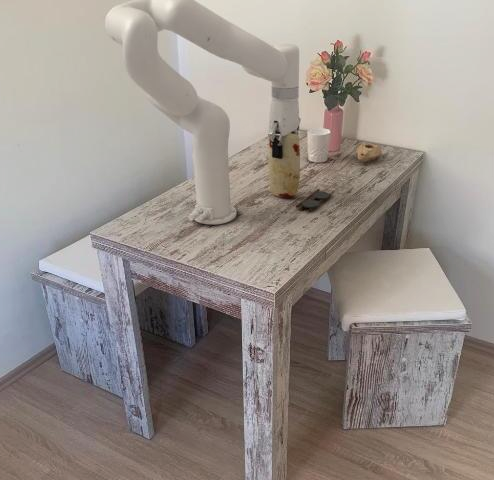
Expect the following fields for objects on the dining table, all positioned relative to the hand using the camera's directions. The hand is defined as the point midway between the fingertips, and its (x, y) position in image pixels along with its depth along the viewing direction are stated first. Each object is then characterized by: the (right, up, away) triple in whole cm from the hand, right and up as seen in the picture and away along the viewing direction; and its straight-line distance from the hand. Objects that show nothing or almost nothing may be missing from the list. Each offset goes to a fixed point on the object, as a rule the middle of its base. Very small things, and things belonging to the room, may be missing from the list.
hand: (284, 153), depth 169 cm
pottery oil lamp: (+29, +4, +32) cm, 43 cm away
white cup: (+12, +5, +34) cm, 36 cm away
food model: (0, -12, +7) cm, 14 cm away
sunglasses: (+9, -14, +3) cm, 17 cm away
